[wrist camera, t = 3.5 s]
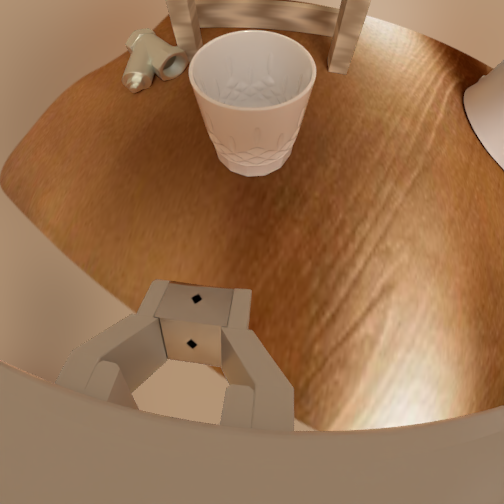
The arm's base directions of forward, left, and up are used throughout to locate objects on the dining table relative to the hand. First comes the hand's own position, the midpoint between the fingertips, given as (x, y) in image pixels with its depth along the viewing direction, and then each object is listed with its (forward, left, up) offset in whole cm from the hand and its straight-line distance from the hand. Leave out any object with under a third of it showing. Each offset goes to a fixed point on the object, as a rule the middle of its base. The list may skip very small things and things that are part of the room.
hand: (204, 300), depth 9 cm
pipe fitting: (+13, -24, -14) cm, 31 cm away
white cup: (0, -14, -14) cm, 20 cm away
